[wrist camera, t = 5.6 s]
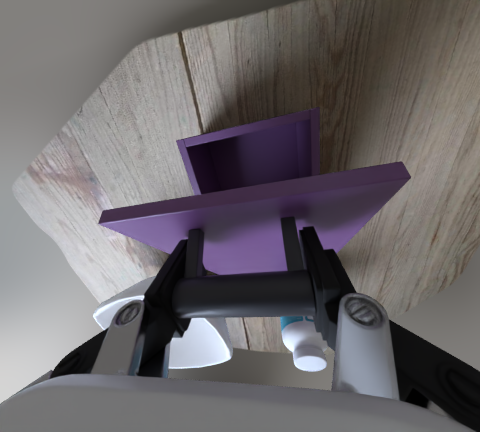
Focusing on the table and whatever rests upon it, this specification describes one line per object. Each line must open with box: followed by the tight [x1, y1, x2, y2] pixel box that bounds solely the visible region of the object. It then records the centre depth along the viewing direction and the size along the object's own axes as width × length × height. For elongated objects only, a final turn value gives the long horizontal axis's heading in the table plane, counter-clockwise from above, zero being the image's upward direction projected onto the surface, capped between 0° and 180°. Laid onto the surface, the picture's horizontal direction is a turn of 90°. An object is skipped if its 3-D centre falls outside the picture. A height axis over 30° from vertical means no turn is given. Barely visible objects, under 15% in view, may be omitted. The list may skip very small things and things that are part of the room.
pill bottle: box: [280, 316, 328, 371], centre depth 32 cm, size 8×7×14 cm
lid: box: [98, 162, 411, 318], centre depth 15 cm, size 18×14×5 cm
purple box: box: [176, 107, 320, 195], centre depth 24 cm, size 18×14×9 cm
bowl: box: [93, 276, 233, 368], centre depth 36 cm, size 22×22×12 cm
